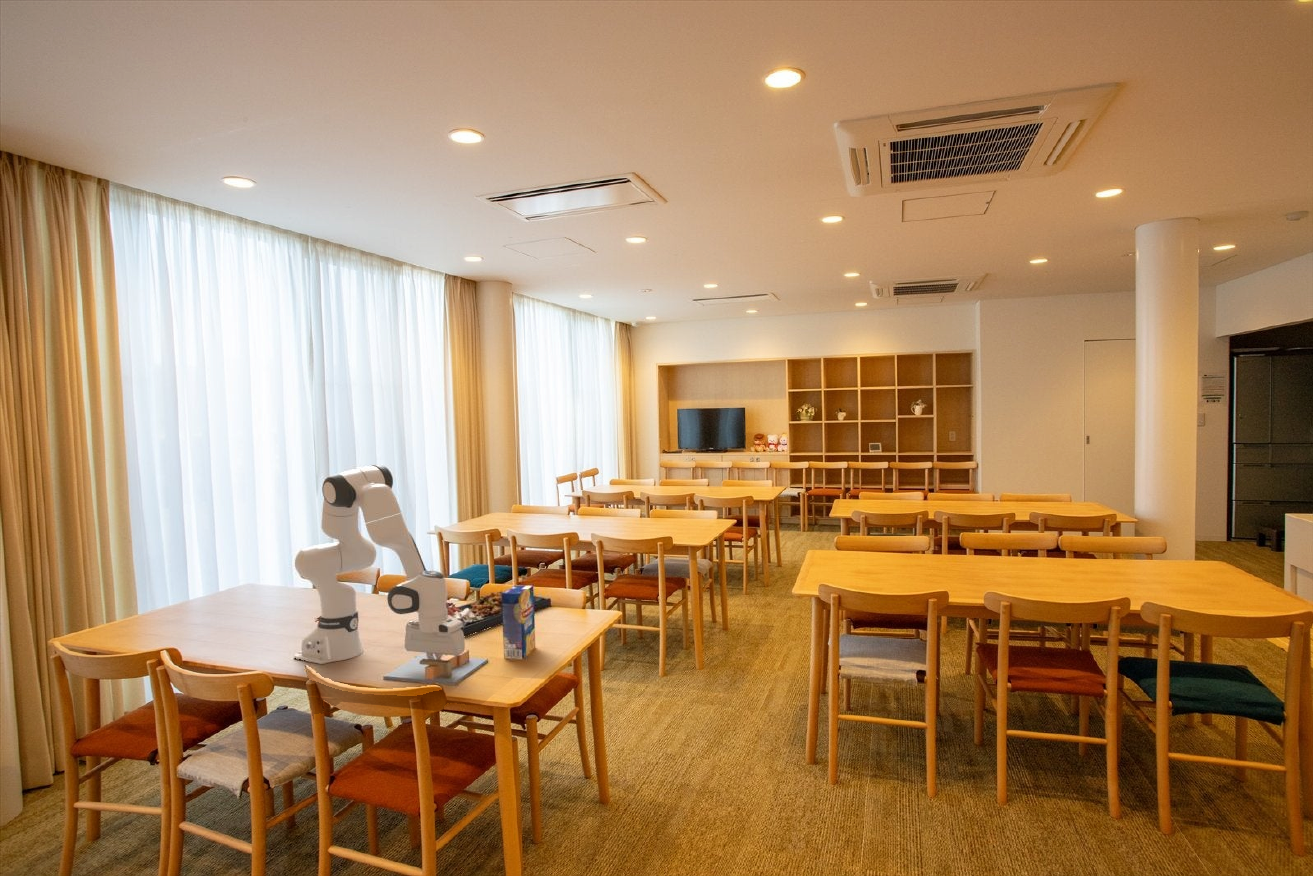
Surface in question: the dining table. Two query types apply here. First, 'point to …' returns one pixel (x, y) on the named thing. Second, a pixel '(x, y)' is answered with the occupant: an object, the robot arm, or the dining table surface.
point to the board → (417, 674)
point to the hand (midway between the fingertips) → (435, 666)
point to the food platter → (486, 612)
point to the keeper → (443, 663)
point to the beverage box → (518, 621)
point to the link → (436, 671)
